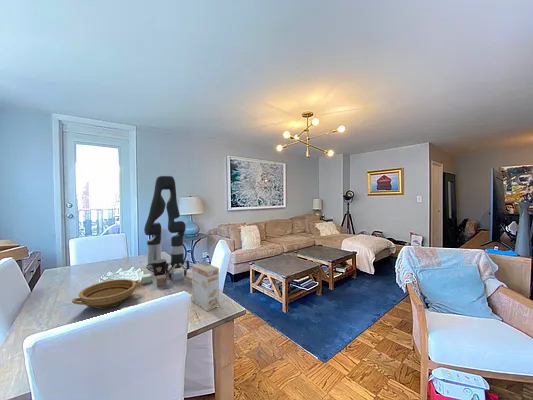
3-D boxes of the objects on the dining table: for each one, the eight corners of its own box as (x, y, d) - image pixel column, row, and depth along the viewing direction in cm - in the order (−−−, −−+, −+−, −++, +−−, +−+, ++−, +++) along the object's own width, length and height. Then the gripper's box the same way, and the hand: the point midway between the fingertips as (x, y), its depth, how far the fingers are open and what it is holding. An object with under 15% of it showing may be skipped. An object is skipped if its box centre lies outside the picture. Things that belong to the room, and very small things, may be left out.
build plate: (150, 284, 141) (150, 283, 141) (171, 281, 147) (171, 279, 147) (150, 292, 131) (150, 290, 131) (173, 288, 136) (173, 286, 136)
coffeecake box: (219, 306, 115) (219, 267, 114) (206, 312, 110) (206, 271, 109) (204, 296, 125) (203, 261, 125) (192, 301, 120) (191, 264, 120)
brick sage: (141, 282, 145) (141, 274, 145) (150, 281, 147) (150, 273, 147) (141, 285, 141) (141, 277, 140) (150, 284, 143) (150, 276, 143)
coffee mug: (169, 273, 161) (168, 259, 160) (162, 278, 152) (162, 263, 152) (153, 273, 162) (152, 258, 161) (145, 277, 153) (145, 262, 153)
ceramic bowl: (130, 287, 137) (129, 274, 137) (150, 299, 123) (149, 284, 122) (65, 307, 114) (64, 291, 114) (80, 324, 99) (80, 306, 99)
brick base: (156, 284, 140) (156, 275, 140) (165, 282, 142) (165, 274, 142) (157, 287, 136) (157, 278, 135) (166, 285, 138) (166, 277, 138)
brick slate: (173, 279, 151) (172, 271, 151) (181, 277, 153) (181, 270, 153) (174, 281, 146) (173, 274, 146) (182, 280, 149) (182, 272, 149)
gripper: (187, 249, 156) (188, 273, 156) (164, 252, 149) (165, 277, 150) (189, 252, 149) (190, 277, 150) (165, 255, 142) (166, 281, 143)
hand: (177, 277), depth 150 cm, fingers open, 8 cm apart
